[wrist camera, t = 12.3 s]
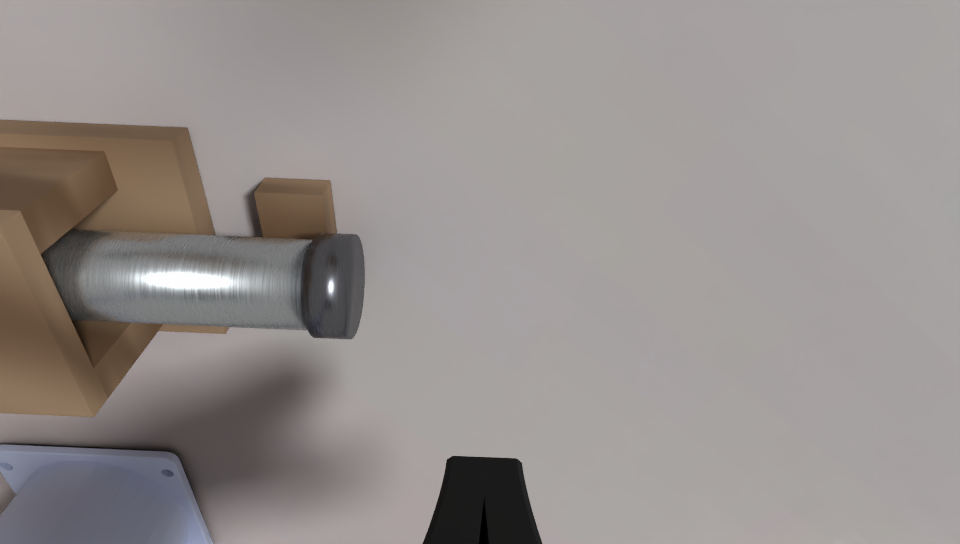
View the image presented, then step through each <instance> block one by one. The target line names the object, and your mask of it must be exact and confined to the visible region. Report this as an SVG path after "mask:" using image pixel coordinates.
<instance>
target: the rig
mask: <svg viewBox="0 0 960 544" xmlns="http://www.w3.org/2000/svg"><path fill="white" fill-rule="evenodd" d="M254 196H255V201H256V206H257V211H258V215H259V220H260V225H261V230H262V235H263V238H287V239H310V240H313V239H314V237H315V236H316V235H317V234H318V233H334V234H337V230H336V222H335V214H334V206H333V197H332V189H331V181H329V180H306V179H282V178H265V179H264V180H263V181H262V183H261V184H260V185H259V186H258V188H257V189H256V190H255V192H254ZM70 229H75V230H99V231H122V232H146V233H169V234H193V235H215V231H214V228H213V224H212V220H211V216H210V212H209V208H208V204H207V201H206V197H205V193H204V189H203V185H202V181H201V177H200V174H199V170H198V166H197V162H196V158H195V154H194V150H193V146H192V143H191V139H190V135H189V131H188V128H182V127H158V126H135V125H111V124H87V123H63V122H39V121H15V120H0V413H12V414H35V415H58V416H81V417H94V416H95V415H96V414H97V412H98V411H99V410H100V408H101V407H102V406H103V404H104V403H105V402H106V400H107V399H108V398H109V396H110V395H111V394H112V392H113V391H114V390H115V388H116V387H117V386H118V384H119V383H120V382H121V380H122V379H123V377H124V376H125V375H126V373H127V372H128V371H129V369H130V368H131V367H132V365H133V364H134V363H135V361H136V360H137V359H138V357H139V356H140V355H141V353H142V352H143V351H144V349H145V348H146V347H147V345H148V344H149V343H150V341H151V340H152V339H153V337H154V336H155V335H156V333H157V332H158V331H171V332H194V333H218V334H226V332H227V331H228V329H229V327H218V326H195V325H171V324H148V323H125V322H102V321H79V320H71V319H70V317H69V314H68V312H67V310H66V308H65V306H64V304H63V302H62V299H61V297H60V295H59V293H58V291H57V289H56V287H55V284H54V282H53V280H52V278H51V276H50V274H49V272H48V269H47V267H46V265H45V263H44V261H43V259H42V257H41V253H43V252H44V251H45V250H46V249H47V248H49V247H50V246H51V245H52V244H53V243H55V242H56V241H57V240H58V239H59V238H61V237H62V236H63V235H64V234H65V233H67V232H68V231H69V230H70Z"/></svg>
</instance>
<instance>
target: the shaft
mask: <svg viewBox="0 0 960 544" xmlns="http://www.w3.org/2000/svg"><path fill="white" fill-rule="evenodd" d="M41 257H42V259H43V261H44V263H45V265H46V267H47V269H48V272H49V274H50V276H51V278H52V280H53V282H54V284H55V287H56V289H57V291H58V293H59V295H60V297H61V299H62V302H63V304H64V306H65V308H66V310H67V312H68V314H69V317H70V319H71V320H79V321H102V322H125V323H148V324H171V325H195V326H218V327H241V328H264V329H287V330H308V331H309V333H310V335H311V336H312V337H314V338H332V339H352V338H353V337H354V336H355V334H356V332H357V330H358V327H359V323H360V319H361V314H362V307H363V299H364V285H365V267H364V254H363V248H362V244H361V240H360V238H359V237H358V235H356V234H334V233H318V234H317V235H316V236H315V237H314V239H313V240H310V239H287V238H263V237H240V236H216V235H193V234H169V233H146V232H122V231H99V230H75V229H70V230H69V231H68V232H67V233H65V234H64V235H63V236H62V237H61V238H59V239H58V240H57V241H56V242H55V243H53V244H52V245H51V246H50V247H49V248H47V249H46V250H45V251H44V252H43V253H41Z"/></svg>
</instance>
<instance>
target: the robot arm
mask: <svg viewBox="0 0 960 544" xmlns="http://www.w3.org/2000/svg"><path fill="white" fill-rule="evenodd" d="M0 472H1V474H2V475H3V477H4V478H5V480H6V481H7V483H8V484H9V485H10V487H11V488H12V490H13V491H14V493H15V494H16V496H15V497H14V498H13V500H12V501H11V502H10V504H9V505H8V506H7V507H6V509H5V510H4V511H3V513H2V514H1V515H0V544H213V542H212V539H211V537H210V534H209V532H208V529H207V527H206V524H205V522H204V519H203V517H202V514H201V512H200V509H199V507H198V504H197V502H196V499H195V497H194V494H193V492H192V490H191V487H190V485H189V482H188V480H187V477H186V475H185V472H184V470H183V467H182V465H181V462H180V460H179V458H178V457H177V456H176V455H175V454H173V453H171V452H165V451H142V450H119V449H96V448H73V447H51V446H28V445H5V444H3V445H0ZM423 544H542V541H541V538H540V535H539V532H538V529H537V526H536V522H535V519H534V516H533V512H532V509H531V505H530V501H529V498H528V493H527V489H526V485H525V480H524V475H523V468H522V463H521V462H520V461H519V460H518V459H515V458H490V457H465V456H452V457H451V458H449V459H447V463H446V469H445V474H444V479H443V483H442V487H441V491H440V494H439V498H438V501H437V505H436V508H435V511H434V514H433V517H432V520H431V523H430V526H429V529H428V531H427V534H426V537H425V539H424V542H423Z"/></svg>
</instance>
